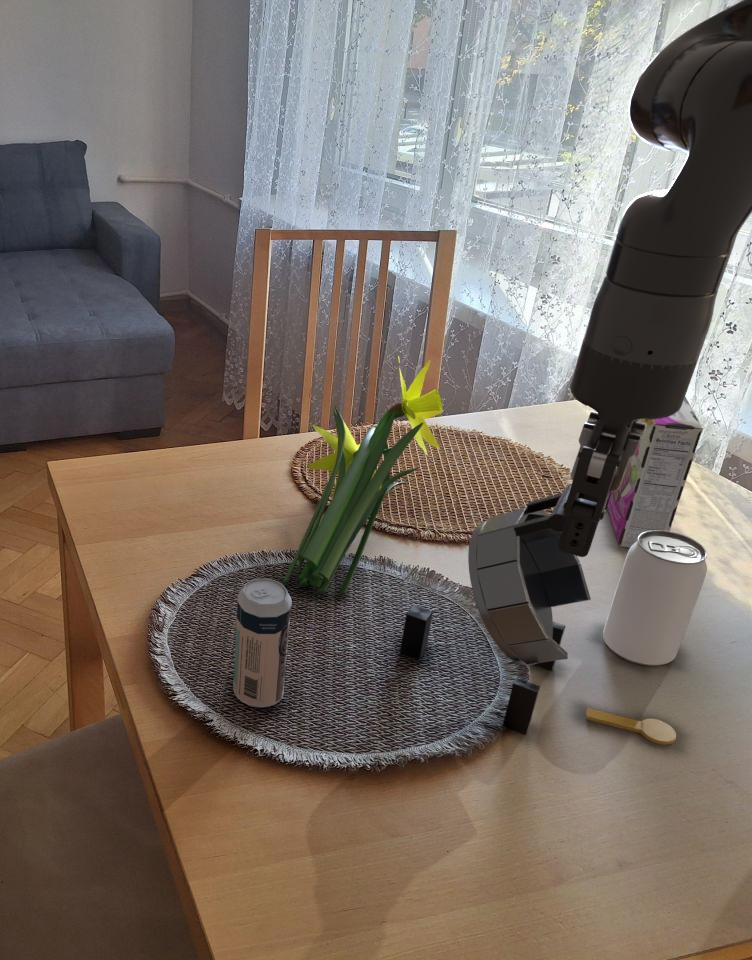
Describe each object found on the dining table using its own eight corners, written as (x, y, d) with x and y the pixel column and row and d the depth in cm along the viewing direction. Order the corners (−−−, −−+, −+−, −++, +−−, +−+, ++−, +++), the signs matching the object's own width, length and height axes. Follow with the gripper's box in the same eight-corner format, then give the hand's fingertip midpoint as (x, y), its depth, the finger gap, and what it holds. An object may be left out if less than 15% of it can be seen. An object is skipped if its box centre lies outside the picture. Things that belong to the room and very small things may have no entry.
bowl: (557, 615, 82) (656, 597, 76) (522, 695, 73) (632, 682, 67) (492, 492, 81) (588, 464, 75) (448, 558, 72) (554, 532, 66)
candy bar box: (601, 501, 110) (635, 383, 102) (645, 507, 108) (683, 387, 100) (615, 548, 101) (653, 422, 93) (663, 555, 99) (707, 427, 91)
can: (681, 674, 82) (720, 571, 76) (605, 660, 84) (637, 558, 78) (668, 633, 87) (704, 533, 81) (597, 620, 89) (627, 523, 83)
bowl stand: (554, 665, 84) (565, 625, 81) (525, 735, 76) (537, 692, 74) (421, 619, 90) (428, 580, 88) (383, 678, 83) (389, 638, 80)
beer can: (292, 704, 80) (302, 601, 74) (245, 716, 79) (251, 612, 73) (270, 671, 84) (277, 571, 78) (224, 682, 83) (229, 581, 77)
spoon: (586, 701, 79) (585, 705, 79) (587, 722, 77) (586, 725, 77) (675, 723, 76) (673, 726, 76) (678, 745, 74) (676, 748, 74)
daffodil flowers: (219, 572, 101) (323, 396, 121) (322, 646, 100) (409, 456, 120) (287, 504, 87) (392, 319, 107) (407, 589, 86) (489, 386, 107)
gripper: (688, 386, 56) (615, 592, 64) (710, 325, 66) (644, 510, 74) (564, 361, 60) (510, 559, 68) (603, 307, 70) (551, 485, 78)
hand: (580, 532), depth 71 cm, fingers closed on bowl, 6 cm apart
